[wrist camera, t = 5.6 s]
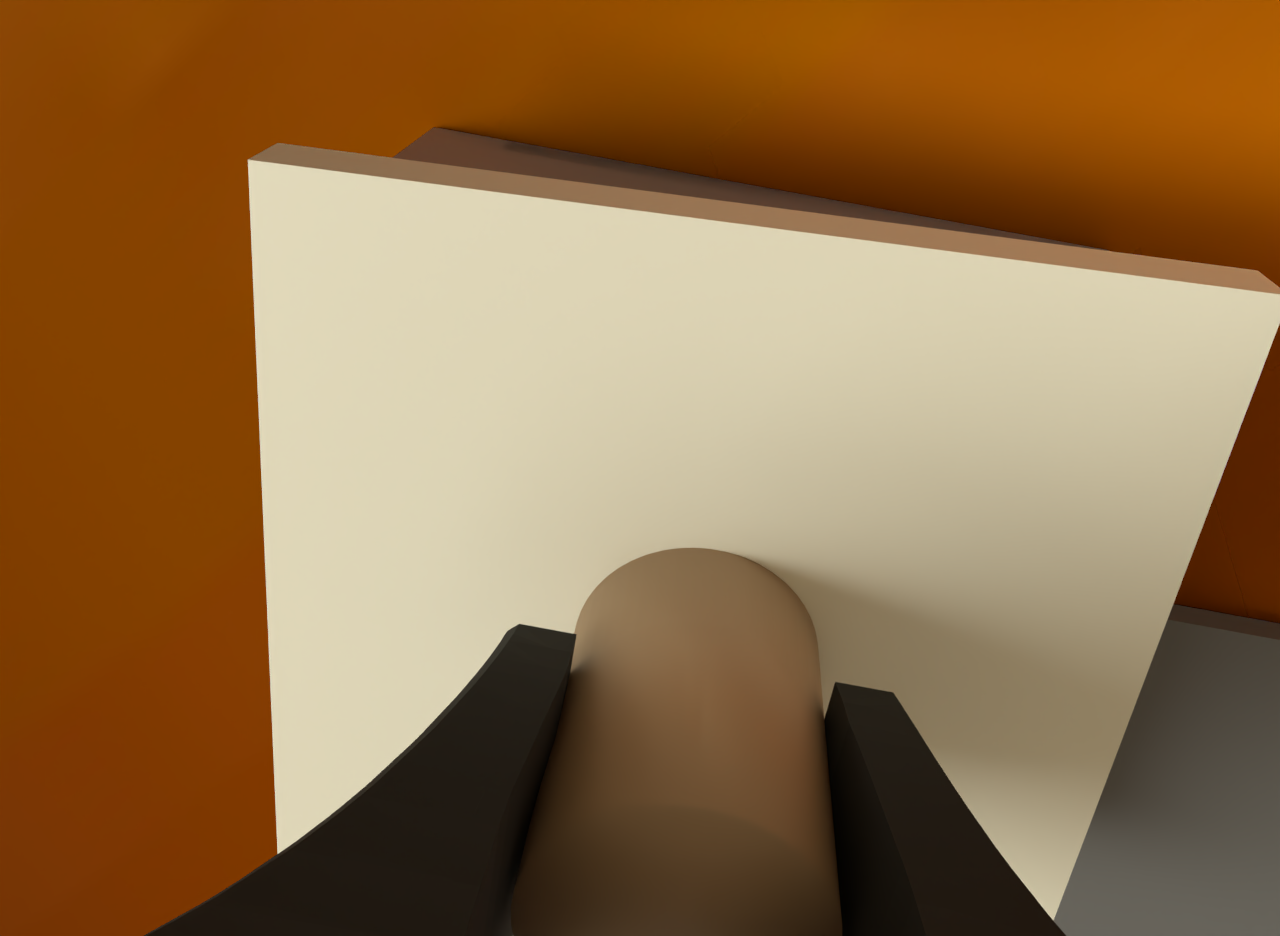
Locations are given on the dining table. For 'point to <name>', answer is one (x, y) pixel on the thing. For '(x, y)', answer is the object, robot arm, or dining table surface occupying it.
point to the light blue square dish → (650, 179)
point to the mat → (1190, 793)
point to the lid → (721, 510)
